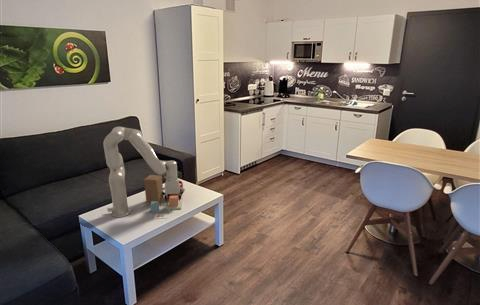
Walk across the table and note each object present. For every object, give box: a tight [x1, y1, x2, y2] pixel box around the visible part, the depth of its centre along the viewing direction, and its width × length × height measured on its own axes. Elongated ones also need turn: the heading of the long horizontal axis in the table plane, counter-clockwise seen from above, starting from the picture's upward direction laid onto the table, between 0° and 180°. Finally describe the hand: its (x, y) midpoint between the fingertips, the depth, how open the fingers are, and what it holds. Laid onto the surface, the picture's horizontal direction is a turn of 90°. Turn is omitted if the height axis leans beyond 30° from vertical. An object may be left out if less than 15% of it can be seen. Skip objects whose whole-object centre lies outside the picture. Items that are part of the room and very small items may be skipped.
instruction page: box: [153, 213, 168, 220], centre depth 215 cm, size 8×6×1 cm
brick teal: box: [149, 201, 160, 214], centre depth 222 cm, size 5×5×6 cm
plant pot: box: [167, 179, 184, 199], centre depth 242 cm, size 13×13×12 cm
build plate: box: [166, 201, 183, 211], centre depth 229 cm, size 10×10×1 cm
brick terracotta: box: [168, 196, 180, 207], centre depth 228 cm, size 6×6×6 cm
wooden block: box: [143, 174, 165, 205], centre depth 233 cm, size 10×10×20 cm
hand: (173, 200), depth 227 cm, fingers open, 9 cm apart
